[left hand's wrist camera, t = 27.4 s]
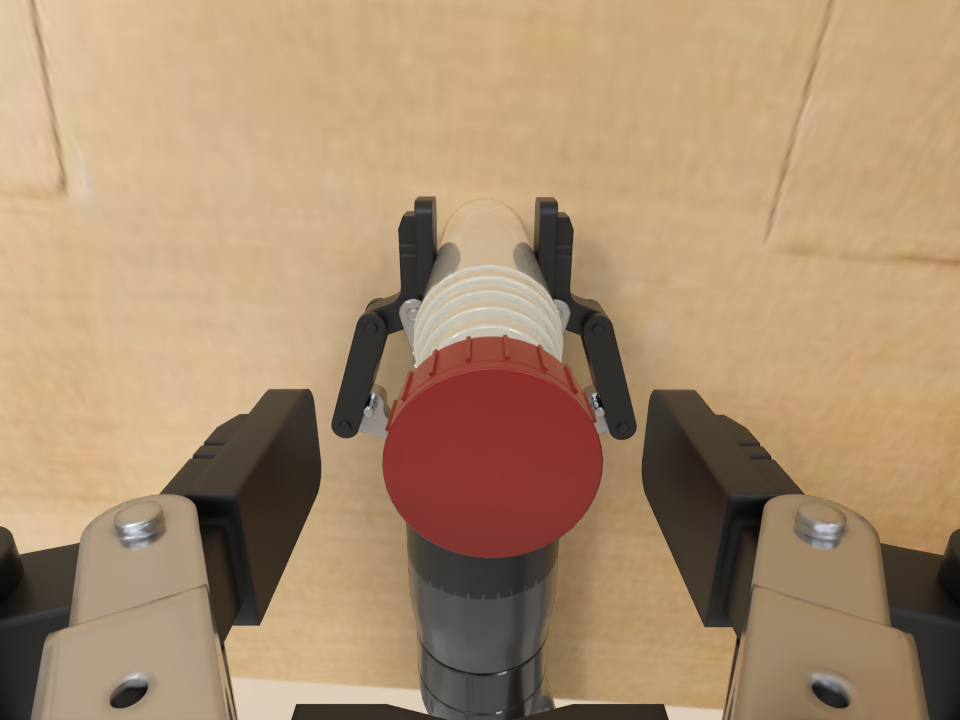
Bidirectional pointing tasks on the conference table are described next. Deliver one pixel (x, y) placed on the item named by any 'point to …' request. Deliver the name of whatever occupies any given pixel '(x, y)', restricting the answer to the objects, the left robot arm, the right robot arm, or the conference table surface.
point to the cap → (492, 448)
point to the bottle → (486, 285)
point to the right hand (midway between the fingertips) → (485, 201)
